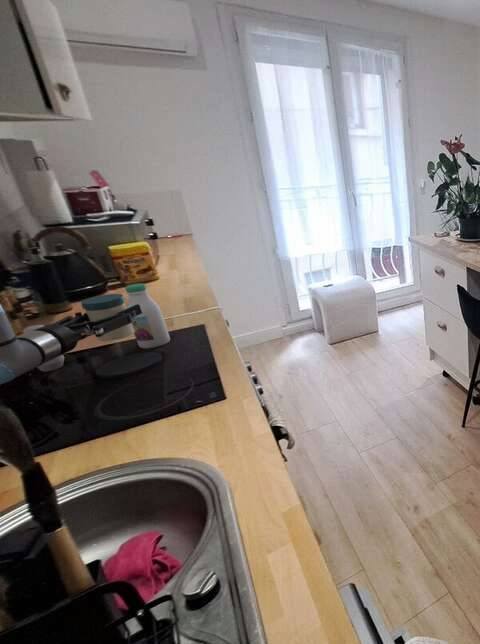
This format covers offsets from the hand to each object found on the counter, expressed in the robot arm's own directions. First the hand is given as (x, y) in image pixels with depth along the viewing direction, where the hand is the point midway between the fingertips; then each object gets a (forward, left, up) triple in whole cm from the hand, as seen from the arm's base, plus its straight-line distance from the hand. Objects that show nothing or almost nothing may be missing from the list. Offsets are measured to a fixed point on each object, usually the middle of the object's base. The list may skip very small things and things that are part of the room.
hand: (123, 309), depth 117 cm
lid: (-2, -4, +5) cm, 7 cm away
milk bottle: (+2, +11, -16) cm, 20 cm away
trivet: (-2, -4, -16) cm, 17 cm away
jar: (-2, -4, -6) cm, 8 cm away
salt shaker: (-20, +7, -16) cm, 27 cm away
